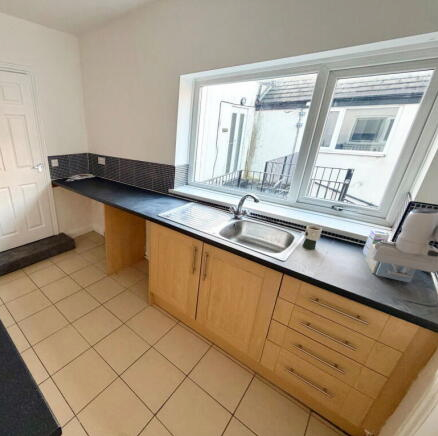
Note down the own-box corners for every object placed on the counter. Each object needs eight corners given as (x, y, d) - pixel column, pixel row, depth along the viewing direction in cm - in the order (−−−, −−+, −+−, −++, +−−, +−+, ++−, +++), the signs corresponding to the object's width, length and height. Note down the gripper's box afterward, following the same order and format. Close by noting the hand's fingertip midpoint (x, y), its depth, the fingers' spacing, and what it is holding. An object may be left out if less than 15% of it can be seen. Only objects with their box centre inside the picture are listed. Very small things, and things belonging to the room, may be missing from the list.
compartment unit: (408, 281, 109) (417, 263, 105) (372, 273, 115) (379, 255, 111) (397, 266, 121) (405, 249, 117) (365, 260, 127) (371, 243, 123)
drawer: (414, 288, 103) (421, 272, 100) (379, 280, 108) (385, 265, 105) (399, 268, 117) (405, 254, 115) (369, 262, 123) (374, 248, 120)
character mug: (301, 242, 144) (306, 222, 139) (315, 246, 141) (321, 225, 136) (300, 250, 136) (306, 229, 131) (315, 254, 132) (322, 233, 127)
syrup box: (365, 257, 129) (375, 233, 123) (361, 252, 134) (371, 228, 128) (379, 260, 127) (390, 235, 121) (374, 254, 132) (384, 230, 126)
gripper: (379, 242, 103) (368, 270, 108) (448, 255, 94) (433, 285, 99) (375, 237, 108) (365, 264, 113) (440, 248, 99) (426, 277, 104)
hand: (397, 274), depth 106 cm, fingers closed
